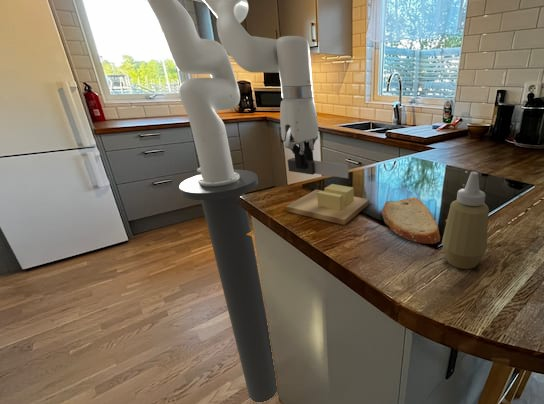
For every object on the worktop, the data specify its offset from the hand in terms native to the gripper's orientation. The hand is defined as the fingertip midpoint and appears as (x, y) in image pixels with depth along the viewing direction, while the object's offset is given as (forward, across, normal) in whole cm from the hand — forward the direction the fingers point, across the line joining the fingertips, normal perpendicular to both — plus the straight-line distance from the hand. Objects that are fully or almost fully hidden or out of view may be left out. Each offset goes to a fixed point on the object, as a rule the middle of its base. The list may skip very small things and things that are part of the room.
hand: (304, 166), depth 80 cm
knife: (+2, 0, +4) cm, 4 cm away
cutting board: (+11, 0, +6) cm, 13 cm away
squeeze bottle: (+12, +10, +43) cm, 46 cm away
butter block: (+10, -3, +8) cm, 13 cm away
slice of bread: (+12, -2, +30) cm, 32 cm away
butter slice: (+10, +2, +8) cm, 13 cm away
